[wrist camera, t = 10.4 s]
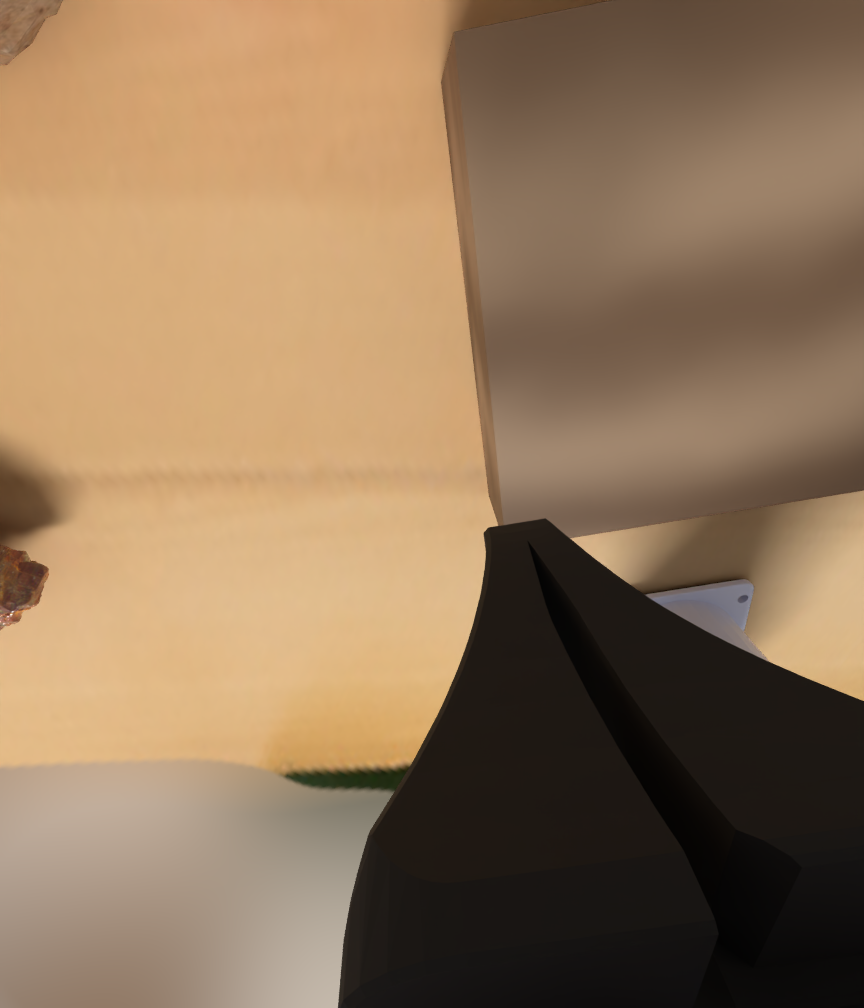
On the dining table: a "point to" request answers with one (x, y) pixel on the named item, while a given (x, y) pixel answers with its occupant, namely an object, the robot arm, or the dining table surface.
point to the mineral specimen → (19, 584)
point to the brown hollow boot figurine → (22, 24)
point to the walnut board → (663, 256)
